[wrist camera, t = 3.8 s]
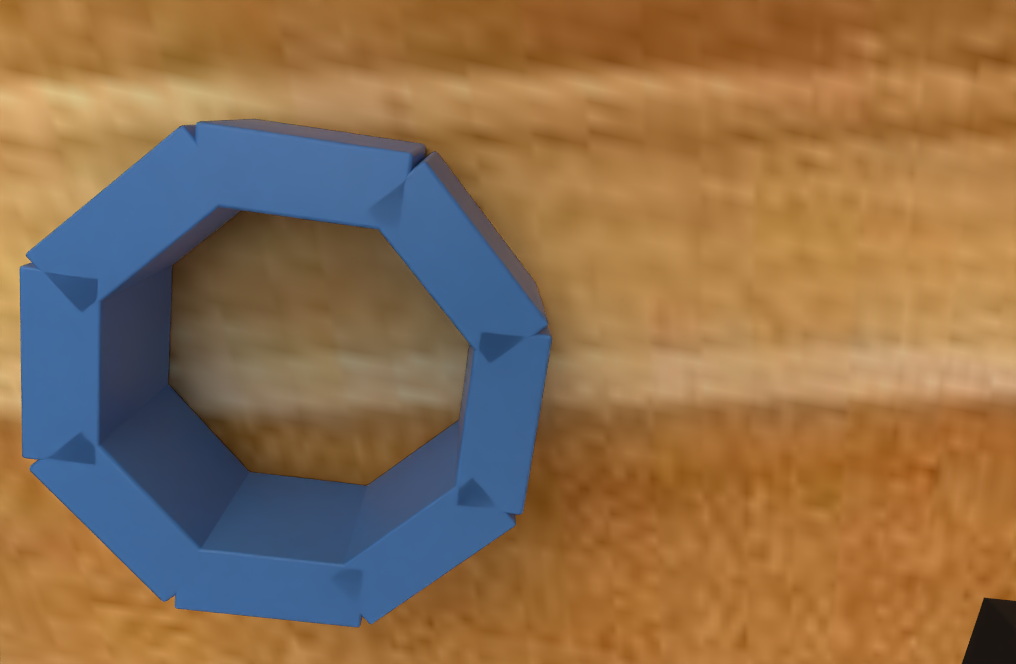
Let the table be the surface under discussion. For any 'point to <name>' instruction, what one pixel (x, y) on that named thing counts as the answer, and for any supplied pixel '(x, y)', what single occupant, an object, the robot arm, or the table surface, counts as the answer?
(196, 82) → the table surface
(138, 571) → the blue octagonal ring
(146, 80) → the table surface
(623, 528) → the table surface
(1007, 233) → the table surface
